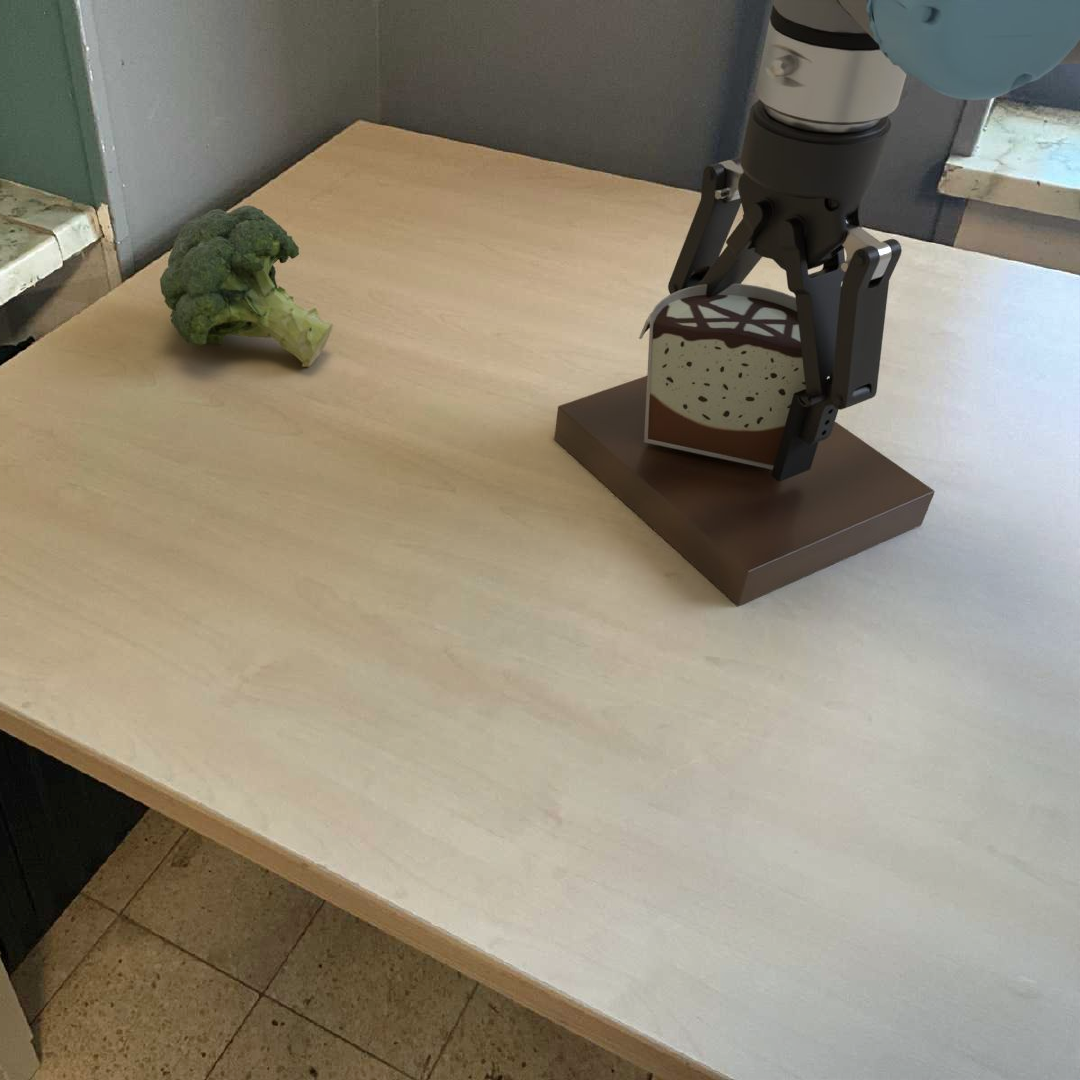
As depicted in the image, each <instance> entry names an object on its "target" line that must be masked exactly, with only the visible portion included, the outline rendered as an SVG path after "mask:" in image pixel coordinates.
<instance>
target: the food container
mask: <svg viewBox="0 0 1080 1080" xmlns="http://www.w3.org/2000/svg"><path fill="white" fill-rule="evenodd" d="M706 290H707V284H705V285H698V286H693V287H688V288H685V289H682V290H679V291H677V292H674V293H672V294H670V293H669V294H668V295H667V296H666V297H664V298H663V299H661V300H659V302H658V303H657V304H656V305H655V306H654V308H653V309H652V311H651V312H650V313H649V314H648V317H647V318H646V320H645V322H644V325H643V328H642V330H641V332H640V335H639V337H638V339H639V340H642V339H643V338H644V335H645V334H646V332H647V331H648V330H649V332H648V333H649V335H648V336H649V337H648V352H647V374H646V376H647V391H646V411H645V431H644V442H646V443H650V444H655V445H660V446H664V447H669V448H674V449H679V450H683V451H688V452H693V453H697V454H702V455H707V456H711V457H716V458H721V459H726V460H730V461H735V462H740V463H744V464H749V465H754V466H758V467H763V468H768V469H773V467H774V463H775V459H776V456H777V452H778V449H779V445H780V441H781V438H782V434H783V431H784V427H785V424H786V420H787V416H788V413H789V409H790V406H791V402H792V398H793V395H794V393H796V392H799V391H802V390H804V389H806V386H805V377H804V368H803V359H802V350H801V341H800V332H799V323H798V314H797V306H796V297H795V296H793V295H790V294H788V293H785V292H782V291H778V290H776V289H772V288H768V287H763V286H758V285H754V284H753V285H752V284H745V283H741V284H732V285H731V286H729V287H728V288H727V289H725V290H724V291H722V292H721V293H719V294H718V295H715V296H712V297H709V298H708V297H707V295H706Z"/></svg>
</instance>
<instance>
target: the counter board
mask: <svg viewBox="0 0 1080 1080" xmlns="http://www.w3.org/2000/svg"><path fill="white" fill-rule="evenodd" d="M646 391H647V375H645V376H642V377H639V378H636V379H633V380H630V381H628V382H624V383H622V384H618V385H616V386H613V387H609V388H607V389H604V390H601V391H598V392H595V393H592V394H589V395H587V396H583V397H581V398H578V399H575V400H572V401H570V402H569V401H568V402H567V403H566V402H565V403H564V404H560V405H558V406H557V411H556V420H555V429H554V437H553V439H554V440H555V441H556V442H557V443H558V444H559V445H560V446H561V447H562V448H563V449H564V450H565V451H567V453H569V454H570V455H571V456H572V457H573V458H574V459H576V460H577V461H578V463H580V464H581V465H582V466H583V467H585V468H586V469H587V471H589V472H590V473H591V474H592V475H593V476H594V477H595V478H596V479H598V481H600V482H601V483H602V484H603V485H604V486H605V487H606V488H607V489H609V491H611V492H612V493H613V494H614V495H615V496H616V497H617V498H618V499H620V500H621V501H622V502H623V503H624V504H625V505H626V506H627V507H629V509H631V510H632V512H634V513H635V514H636V515H637V516H638V517H640V519H641V520H643V522H645V524H647V525H648V526H649V527H650V528H652V529H653V531H654V532H656V533H657V534H658V535H659V536H660V537H661V538H663V539H664V540H665V541H666V542H667V543H668V544H669V546H671V547H672V548H674V549H675V551H677V552H678V554H680V555H681V556H682V557H683V558H685V560H687V561H688V562H689V563H690V564H691V565H692V566H693V567H694V568H695V569H697V570H698V571H699V573H701V574H702V576H704V577H705V578H706V579H708V580H709V581H710V582H711V583H712V584H713V585H714V586H715V587H717V589H719V590H720V591H721V592H722V594H724V595H725V596H726V597H727V598H729V599H730V601H732V602H733V603H734V604H735V605H736V606H737V607H740V606H742V605H744V604H747V603H749V602H752V601H753V600H756V599H758V598H760V597H762V596H764V595H767V594H769V593H772V592H774V591H776V590H778V589H780V588H783V587H785V586H788V585H789V584H792V583H794V582H796V581H798V580H801V579H803V578H806V577H808V576H810V575H812V574H814V573H816V572H819V571H821V570H824V569H825V568H828V567H831V566H832V565H835V564H837V563H839V562H841V561H844V560H846V559H848V558H850V557H852V556H855V555H857V554H859V553H861V552H864V551H866V550H868V549H870V548H873V547H875V546H878V545H880V544H882V543H885V542H887V541H889V540H891V539H894V538H896V537H897V536H900V535H902V534H904V533H907V532H909V531H911V530H913V529H916V528H918V527H920V526H922V525H923V522H924V520H925V517H926V515H927V513H928V510H929V508H930V505H931V503H932V500H933V498H934V495H935V492H936V490H935V489H933V488H931V487H930V486H929V485H927V484H926V483H924V482H923V481H921V480H920V479H918V478H917V477H915V475H913V474H911V473H909V472H908V471H907V470H906V469H904V468H903V467H901V466H900V465H898V464H897V463H895V462H894V461H893V460H891V459H889V458H888V457H887V456H885V455H884V454H883V453H881V452H880V451H879V450H877V449H876V448H874V447H873V446H871V445H869V443H866V442H865V441H864V440H862V439H861V438H860V437H858V436H857V435H855V434H854V433H853V432H851V431H850V430H848V429H847V428H845V427H844V426H842V425H841V424H840V423H838V422H837V421H836V420H835V421H834V422H835V423H834V426H833V429H832V432H831V434H830V436H829V437H828V438H827V439H824V440H822V441H819V443H818V446H817V449H816V452H815V456H814V459H813V462H812V465H811V469H810V470H807V471H805V472H803V473H800V474H798V475H795V476H793V477H790V478H788V479H785V480H783V481H780V482H779V481H777V480H776V479H775V478H773V477H772V476H771V474H772V470H773V469H768V468H763V467H758V466H754V465H749V464H744V463H740V462H735V461H730V460H726V459H721V458H716V457H711V456H707V455H702V454H697V453H693V452H688V451H683V450H679V449H674V448H669V447H664V446H660V445H655V444H650V443H646V442H644V431H645V411H646Z"/></svg>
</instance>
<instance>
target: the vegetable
mask: <svg viewBox="0 0 1080 1080" xmlns="http://www.w3.org/2000/svg"><path fill="white" fill-rule="evenodd" d="M299 255H300V247H299V245H297V244H296V242H295V241H294V239H293V236H292V235H289V234H288V231H287V230H285V229H284V228H283V227H282V226H281V225H280V224H279V223H277V222H276V221H275V220H274V219H273V218H272V217H271V216H269V215H267V214H266V213H265V212H264V211H263V209H261V208H260V209H259V208H257V207H255V206H253V205H242V206H239V207H237V208H234V209H232V210H231V211H229V212H227V211H224V210H223V209H220V208H218V209H211V210H210V211H209V210H208V212H206V213H205V214H202V215H198V216H197V217H195V218H194V219H192V220H188V221H187V222H186V223H185V224H183V225H182V226H181V228H180V230H179V232H178V234H177V236H176V238H175V240H174V242H173V246H172V249H171V251H170V254H169V257H168V259H167V267H166V268H165V269H164V270H163V273H162V275H161V277H160V278H159V282H160V292H161V295H162V296H163V297H164V303H165V304H166V306H167V307H168V308H169V309H170V310H171V312H170V318H171V319H170V322H171V324H172V326H173V327H174V328H175V329H176V331H177V332H178V334H179V336H180V337H181V338H183V339H185V340H186V342H187V343H189V344H190V343H192V344H195V345H198V346H202V345H205V344H207V343H210V344H213V345H221V344H222V343H223V342H224V337H225V336H227V335H228V336H239V337H248V338H268V339H269V338H271V339H273V340H275V341H277V343H279V345H280V347H281V348H282V349H284V350H286V351H287V352H289V353H290V354H292V355H293V356H294V357H295V358H296V359H298V360H299V361H300V362H301V363H302V364H301V366H302V367H305V368H310V367H311V366H312V365H313V364H314V363H315V362H316V361H317V359H319V358H320V356H321V353H322V352H323V350H324V349H325V347H326V345H327V342H328V339H329V338H330V335H331V333H332V330H333V327H334V324H331V323H329V322H327V321H325V320H324V319H322V318H321V317H320V316H319V311H318V310H317V308H313V309H310V310H307V309H305V308H304V307H302V306H300V305H299V304H297V303H295V301H294V296H290V294H289V292H287V291H286V289H284V288H283V287H281V286H280V285H279V286H278V284H277V281H276V275H277V274H276V273H277V272H276V267H275V266H274V264H276V262H277V261H279V264H284V263H286V262H287V261H288V259H289V258H290V259H291V260H293V259H295V258H296V257H298V256H299Z"/></svg>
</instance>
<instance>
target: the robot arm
mask: <svg viewBox="0 0 1080 1080" xmlns="http://www.w3.org/2000/svg"><path fill="white" fill-rule="evenodd" d="M765 36H766V37H765V41H764V46H763V51H762V55H761V61H760V67H759V71H758V76H757V81H756V85H755V94H756V96H757V98H758V100H756V101H755V102H754V103H753V104H752V105H751V107H750V110H749V114H748V119H747V125H746V129H745V133H744V139H743V143H742V148H741V153H740V157H735V158H731V159H727V160H723V161H720V162H717V163H713V164H709V165H707V166H705V168H704V169H703V174H702V184H701V192H700V194H701V195H700V200H699V202H698V205H697V208H696V211H695V214H694V215H693V219H692V221H691V224H690V226H689V228H688V232H687V233H686V237H685V239H684V242H683V245H682V247H681V249H680V252H679V255H678V257H677V261H676V263H675V265H674V268H673V271H672V273H671V276H670V278H669V281H668V284H667V290H668V293H669V295H670V294H672V293H674V292H677V291H679V290H682V289H685V288H688V287H693V286H698V285H705V284H707V290H706V295H707V297H708V298H709V297H712V296H715V295H718V294H719V293H721V292H722V291H724V290H725V289H727V288H728V287H729V286H731V285H732V284H743V282H744V280H745V279H746V278H747V277H748V275H749V274H750V273H751V272H752V270H753V269H754V268H755V267H756V265H757V264H758V263H759V262H760V260H761V259H762V258H766V259H770V260H773V261H774V262H775V264H776V265H778V266H779V268H781V269H782V270H783V271H785V275H786V283H787V290H788V291H789V292H791V293H793V294H794V297H796V306H797V314H798V323H799V332H800V341H801V350H802V359H803V368H804V377H805V386H806V389H804V390H802V391H799V392H796V393H794V395H793V398H792V402H791V406H790V409H789V413H788V416H787V420H786V424H785V427H784V431H783V434H782V438H781V441H780V445H779V449H778V452H777V456H776V459H775V463H774V467H773V470H772V474H771V476H772V477H773V478H775V479H776V480H777V481H779V482H780V481H783V480H785V479H788V478H790V477H793V476H795V475H798V474H800V473H803V472H805V471H807V470H810V469H811V465H812V462H813V459H814V456H815V452H816V449H817V446H818V443H819V441H822V440H824V439H827V438H828V437H829V436H830V434H831V432H832V429H833V426H834V423H835V422H836V419H837V417H838V413H839V411H841V410H845V409H847V408H849V407H852V406H855V405H857V404H861V403H863V402H867V401H868V400H871V399H874V398H875V396H876V395H877V391H878V382H879V374H880V365H881V357H882V348H883V338H884V329H885V321H886V312H887V304H888V295H889V284H890V279H891V278H892V275H893V273H894V271H895V269H896V266H897V265H898V262H899V260H900V258H901V256H902V252H903V251H902V245H901V242H900V241H898V240H897V239H894V238H889V239H886V240H883V241H880V240H879V239H877V238H876V237H875V236H873V235H872V234H870V233H869V232H868V231H867V230H865V229H864V228H863V217H862V202H863V200H864V198H865V195H866V194H867V192H868V191H869V189H870V188H871V186H872V185H873V183H874V182H875V180H876V178H877V176H878V172H879V170H880V165H881V162H882V158H883V156H884V155H883V154H884V152H885V148H886V144H887V141H888V138H889V135H890V130H891V127H892V122H891V119H890V117H889V115H890V114H891V113H894V112H895V111H896V109H897V107H898V106H899V103H900V101H901V96H902V92H903V88H904V85H905V81H906V79H907V75H912V76H914V78H916V79H918V80H919V81H920V83H921V82H922V83H923V84H924V85H926V86H927V87H929V88H930V89H931V90H933V91H935V92H937V93H939V94H941V95H944V96H946V97H949V98H953V99H958V100H965V101H966V100H967V101H981V100H991V99H995V98H996V99H997V98H1000V97H1002V96H1004V95H1006V94H1008V93H1009V92H1012V91H1014V90H1017V89H1018V88H1021V87H1023V86H1025V85H1026V84H1029V83H1033V82H1035V81H1037V80H1040V79H1041V78H1043V76H1045V75H1047V74H1048V73H1049V72H1051V71H1053V69H1055V68H1056V67H1057V66H1058V65H1080V0H773V1H772V8H771V12H770V17H769V23H768V27H767V32H766V35H765ZM741 207H742V211H743V212H742V213H743V214H742V219H741V220H740V221H739V223H738V224H737V226H736V227H735V228H734V229H733V231H732V232H731V233H730V231H731V229H732V227H733V225H734V222H735V219H736V217H737V215H738V212H739V211H740V208H741ZM725 244H726V246H725ZM724 246H725V248H724ZM723 248H724V249H723ZM845 253H846V256H845ZM821 266H822V268H821V269H820V270H818V271H815V272H811V273H809V270H812V269H816V268H818V267H821ZM834 421H835V422H834Z"/></svg>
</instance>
